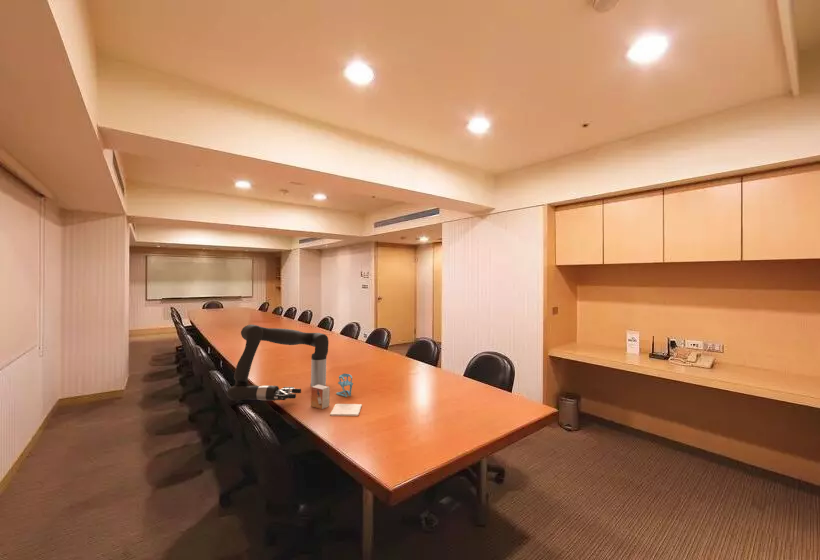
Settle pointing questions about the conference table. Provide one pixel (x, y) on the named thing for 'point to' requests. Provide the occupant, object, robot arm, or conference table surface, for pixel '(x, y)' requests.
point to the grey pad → (346, 410)
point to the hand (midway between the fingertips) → (298, 393)
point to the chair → (345, 383)
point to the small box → (320, 396)
